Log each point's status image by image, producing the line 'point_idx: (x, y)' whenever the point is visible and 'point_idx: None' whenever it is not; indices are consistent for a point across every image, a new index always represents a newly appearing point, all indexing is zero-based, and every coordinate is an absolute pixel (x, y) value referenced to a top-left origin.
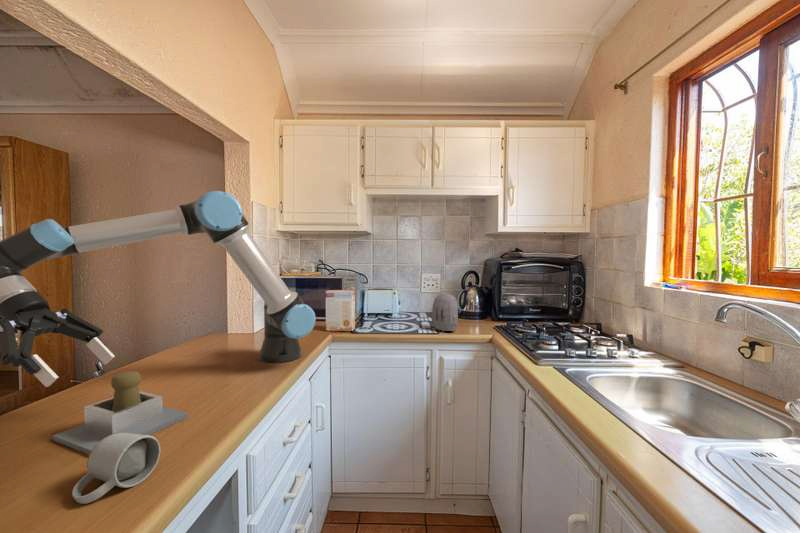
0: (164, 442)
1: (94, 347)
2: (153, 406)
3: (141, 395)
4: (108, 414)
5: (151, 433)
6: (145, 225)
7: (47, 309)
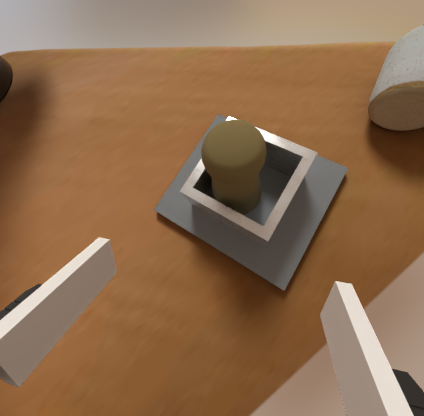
0: (299, 110)
1: (49, 328)
2: None
3: None
4: (311, 163)
5: None
6: None
7: None
